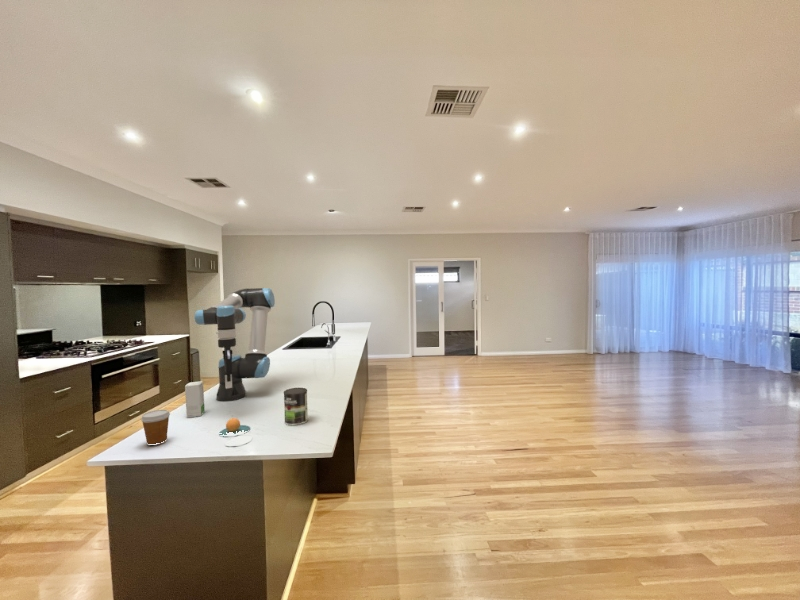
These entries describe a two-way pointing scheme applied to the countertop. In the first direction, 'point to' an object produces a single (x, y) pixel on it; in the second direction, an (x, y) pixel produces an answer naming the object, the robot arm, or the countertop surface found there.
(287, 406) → the coffee can
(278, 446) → the countertop surface
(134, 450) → the countertop surface
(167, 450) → the countertop surface
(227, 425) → the ball
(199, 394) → the skincare box
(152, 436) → the disposable coffee cup
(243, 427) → the disc
